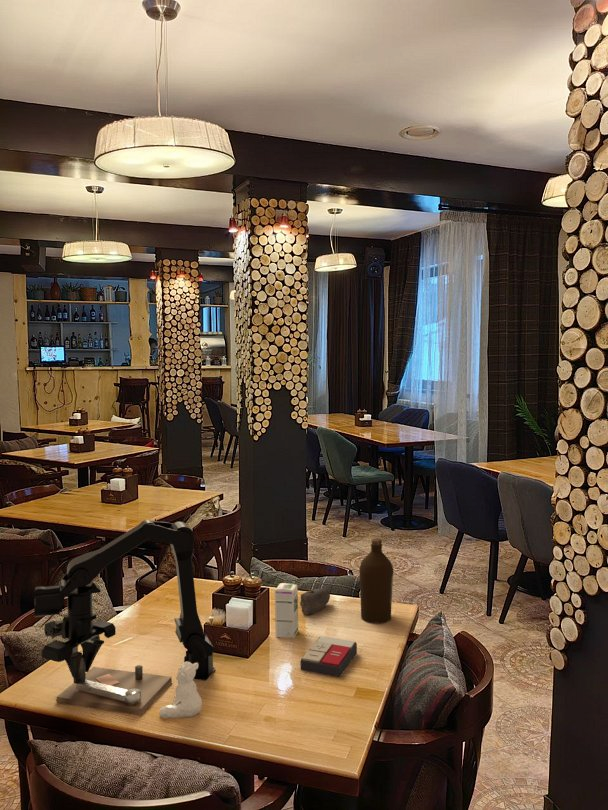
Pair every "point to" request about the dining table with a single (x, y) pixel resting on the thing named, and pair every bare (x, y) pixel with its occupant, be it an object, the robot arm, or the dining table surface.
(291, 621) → the syrup box
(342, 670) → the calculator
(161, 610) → the dining table surface
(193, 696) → the sitting furry creature
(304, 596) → the perforated stone tool
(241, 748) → the dining table surface
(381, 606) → the olive oil
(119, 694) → the lever
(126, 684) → the board
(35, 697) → the dining table surface
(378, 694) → the dining table surface
